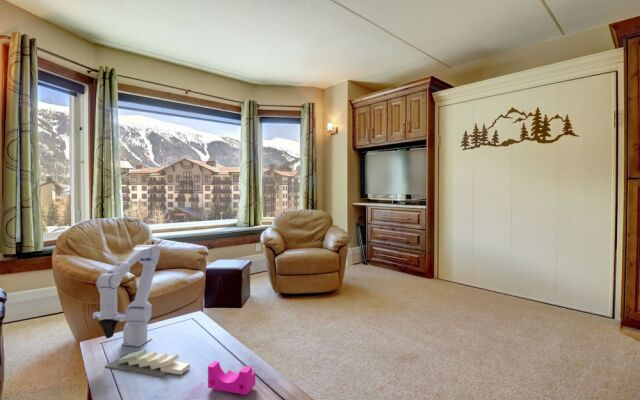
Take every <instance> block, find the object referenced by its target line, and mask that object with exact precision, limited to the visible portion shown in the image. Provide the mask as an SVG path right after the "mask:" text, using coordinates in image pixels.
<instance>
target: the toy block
mask: <svg viewBox="0 0 640 400" xmlns="http://www.w3.org/2000/svg"><path fill="white" fill-rule="evenodd" d="M220 364H221V363H220V361H215V360H214V361H212V362H211V363H210V364H209V365H208V366H207V389H213V390H217V391H218V390H219V391H223V392H229V393H235V394H241V395H245V396H247V395H248V394H249V393H250V391H251V390H252V389H253V388H254V387H255V385H256V371H253V367H252V366H247V365H244V366H243V367H242V368H241V370H239V372H235V371H232V370H228V371H227V372H224V370H223V368H222V367H221V365H220Z"/></svg>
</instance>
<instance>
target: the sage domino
mask: <svg viewBox="0 0 640 400" xmlns="http://www.w3.org/2000/svg"><path fill="white" fill-rule="evenodd" d="M127 354H128V355H126V356H124V357H123V358H121V359H119V360H118V362H119V364H121V363H126V362H130V361H134V360H137V359H139V358H140V357H142V356H143V355H145V354H147V350H146V349H142V350H139V351H135V352H130V353H127Z"/></svg>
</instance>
